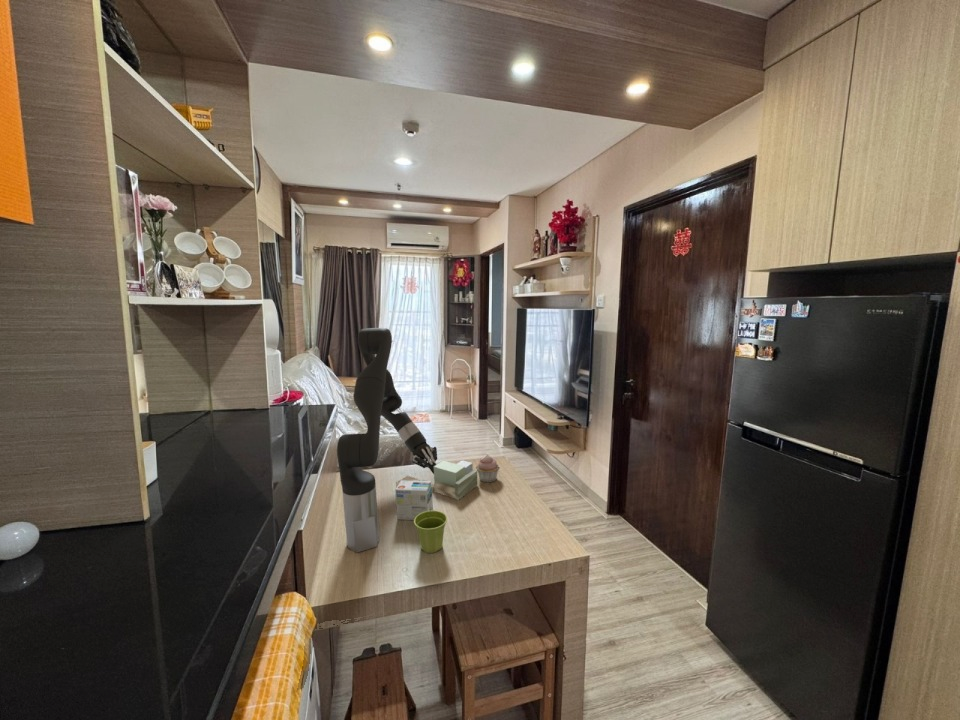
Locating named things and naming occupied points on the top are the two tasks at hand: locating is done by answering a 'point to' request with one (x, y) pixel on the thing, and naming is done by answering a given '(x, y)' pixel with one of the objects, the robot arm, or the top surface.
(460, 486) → the birch bay
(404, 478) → the cream block
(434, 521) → the plant pot
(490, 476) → the cupcake
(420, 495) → the light bulb box
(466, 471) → the grey-blue block
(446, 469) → the sage block
